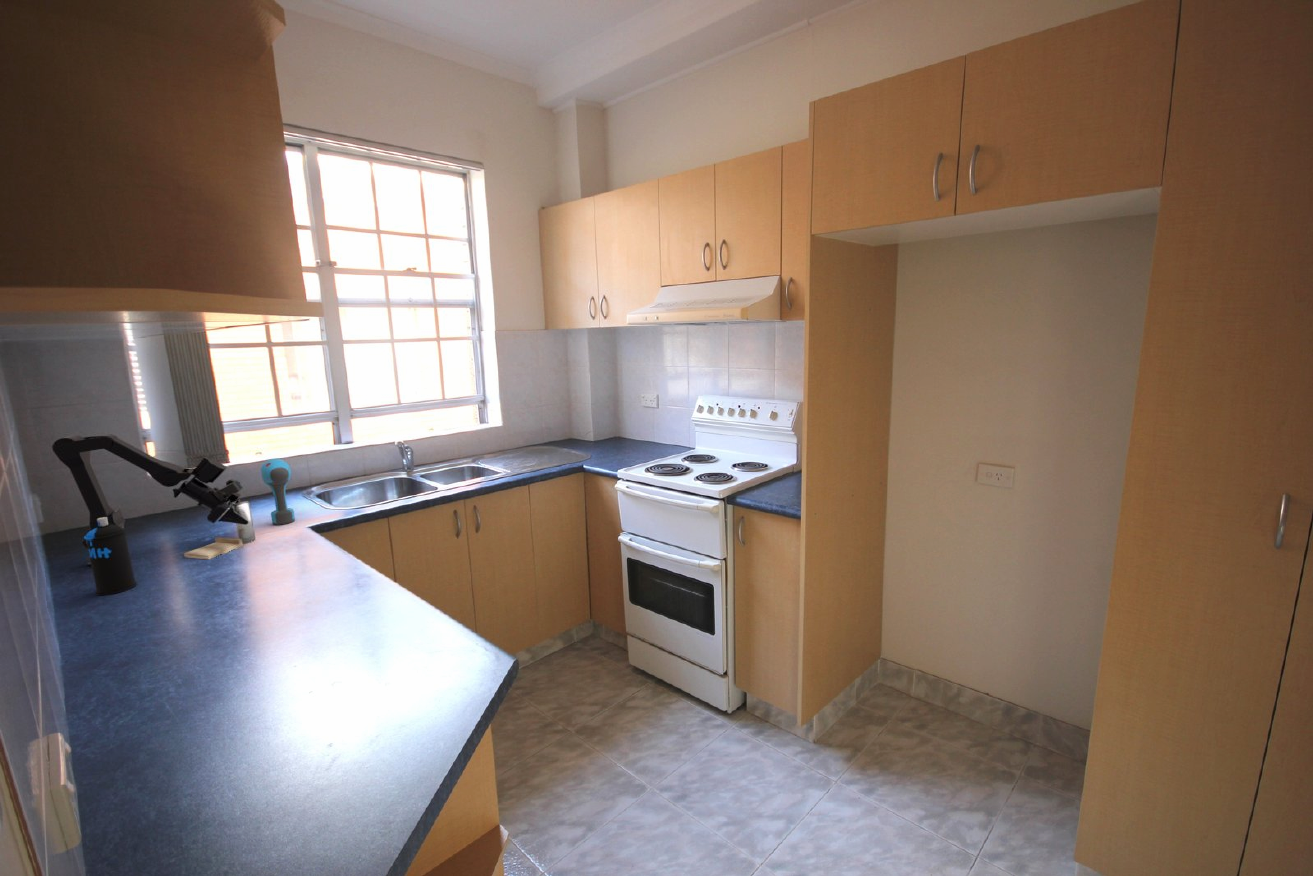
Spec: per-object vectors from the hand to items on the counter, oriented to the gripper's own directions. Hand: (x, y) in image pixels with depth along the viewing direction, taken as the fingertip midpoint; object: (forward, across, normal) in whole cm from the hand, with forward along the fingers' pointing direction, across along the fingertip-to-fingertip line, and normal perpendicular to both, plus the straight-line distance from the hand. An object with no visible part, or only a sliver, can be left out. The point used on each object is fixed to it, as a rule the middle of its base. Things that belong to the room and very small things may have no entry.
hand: (249, 521), depth 192 cm
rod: (+4, 0, +6) cm, 7 cm away
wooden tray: (-2, -7, +11) cm, 13 cm away
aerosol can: (-14, -28, +23) cm, 39 cm away
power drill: (+8, +22, +1) cm, 24 cm away
